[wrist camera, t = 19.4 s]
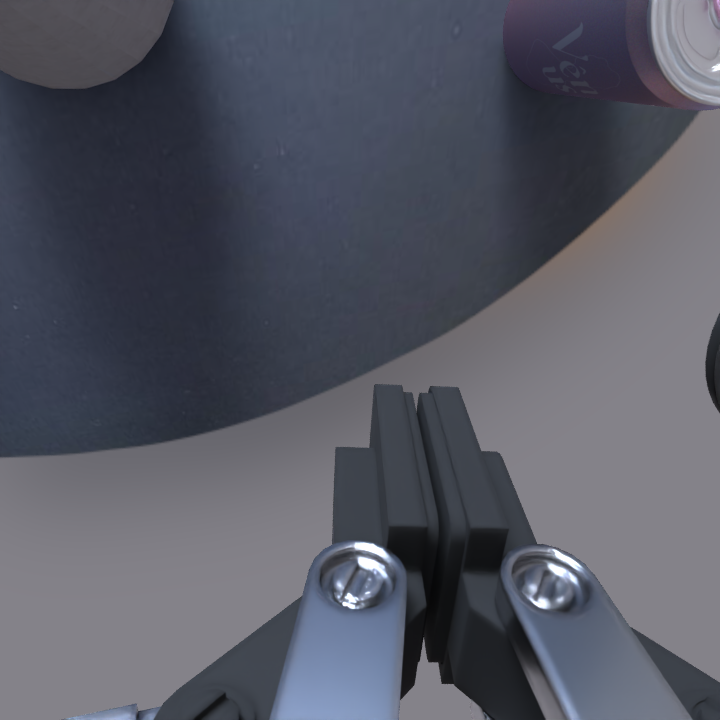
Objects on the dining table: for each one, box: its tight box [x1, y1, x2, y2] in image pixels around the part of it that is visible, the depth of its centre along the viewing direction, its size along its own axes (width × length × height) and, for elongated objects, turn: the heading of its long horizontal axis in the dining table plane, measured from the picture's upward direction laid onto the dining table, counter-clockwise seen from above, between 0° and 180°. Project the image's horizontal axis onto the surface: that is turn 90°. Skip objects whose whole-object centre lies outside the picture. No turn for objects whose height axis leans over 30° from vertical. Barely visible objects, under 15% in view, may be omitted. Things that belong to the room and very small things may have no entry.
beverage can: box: [503, 0, 720, 111], centre depth 22 cm, size 6×6×15 cm
